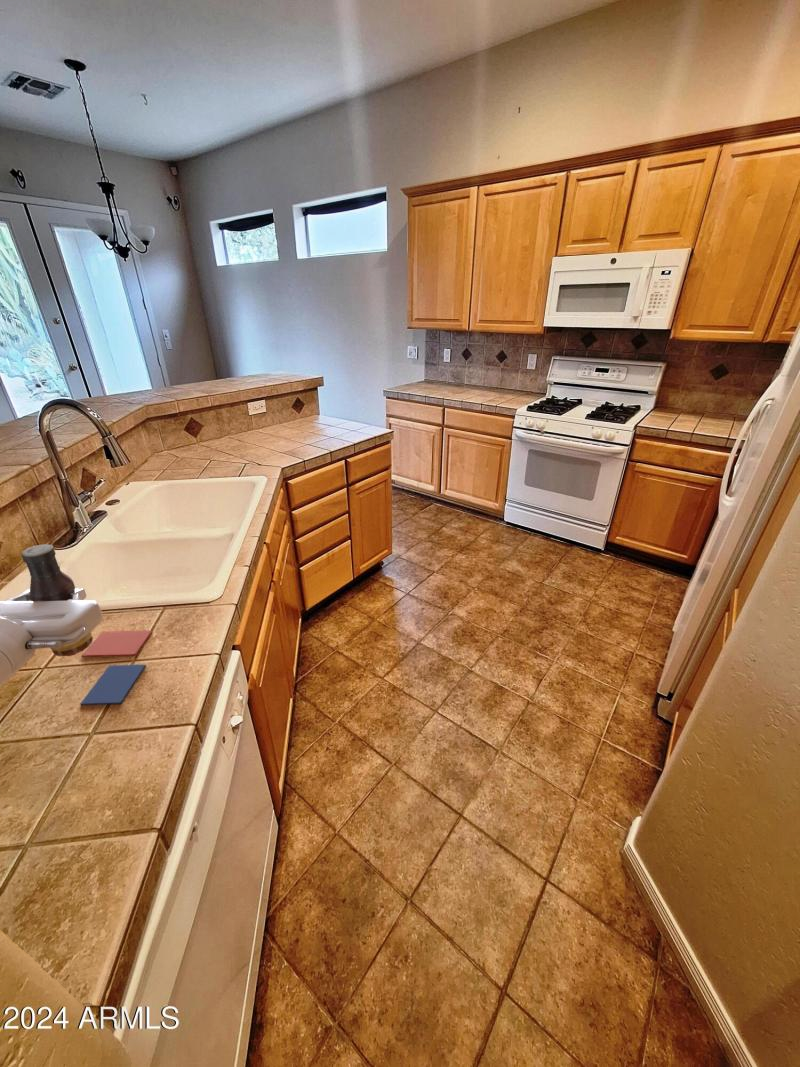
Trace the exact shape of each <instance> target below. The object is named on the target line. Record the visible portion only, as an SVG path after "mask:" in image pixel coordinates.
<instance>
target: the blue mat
mask: <svg viewBox="0 0 800 1067" xmlns="http://www.w3.org/2000/svg"><path fill="white" fill-rule="evenodd" d="M146 667H147V664H116V665H115V664H114V665H108V667H107V668H106V669H105V671H104V672H103V673H102V675H100V677H98V679H97V681H96V682H95V684H94V685H93V686H92V687H91V689H90V690H89V692H87V694H86V696H85V697H83V699H82V701H81V702H80V706H104V705H122V704H123V702H124V701H125V699H126V697H127V696H128V695H129V693H130V692H131V690H132V688H133V687H134V685H135V684H136V682H137V681H138V680H139V678H140V676H141V675H142V673H143V672H144V670H145V668H146Z"/></svg>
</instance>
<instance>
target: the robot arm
mask: <svg viewBox="0 0 800 1067" xmlns="http://www.w3.org/2000/svg"><path fill="white" fill-rule="evenodd" d="M29 596H30V589H26V590H25V591H24V592H22V593H21V594H19V595H15V596H13V597H10V598H7V599H5V600H4V601H0V688H1V687H3V686H4V685H5V684H7V683H8V681H10V680H11V679H12V678H13V677H14V676H15V675H16V674H17V673H18V672H19V671H20V670H21V669H23V667H25V665H26V664H27V663H28V662H29V661H30V660H31V659H32V658H33V657H34V656H35V653H36V649H38V650H39V649H50V648H61V647H65V646H69V645H72V644H75V643H76V642H78V641H80V640H81V639H82V638H84V637H85V636H86V635H87V634H88V633H90V632H93V630H94V629H95V628H97V626H99V625H100V624H101V622H102V621H103V620H104V616H103V612H102V609H101V606H100V605H99V603H98V601H97V600H94V599H88V600H87V599H86V598H87V592H86V590H85V589H84V588H76V589H74V590H73V591H72V592H70V593H69V597H70V598H71V599H69V600H67V601H30V599H29Z"/></svg>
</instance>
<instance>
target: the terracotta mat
mask: <svg viewBox="0 0 800 1067" xmlns="http://www.w3.org/2000/svg"><path fill="white" fill-rule="evenodd" d="M152 633H153V630H152V629H149V630H148V629H147V630H110V631H109V630H108V631H107V630H106V631H104V630H103V631H101V632H100V633H99V634H98V636H97V637H96V638H95V639H93V641H92V643H91V644H90V645H89V647H87V648H86V649H85V650H84V652H83V653H82V654H81V658H98V657H99V658H100V657H103V658H104V657H105V658H106V657H136V656H137V654H138V653H139V652H140V650H141V649H142V647H143V646H144V644H145V643H146V641H147V640H148V639H149V638H150V635H151V634H152Z"/></svg>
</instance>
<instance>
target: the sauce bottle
mask: <svg viewBox="0 0 800 1067" xmlns="http://www.w3.org/2000/svg"><path fill="white" fill-rule="evenodd" d="M56 555H57V554H56V550H55V547H54V546H53V545H50V544H39V545H33V546H30V547H28V548H26V549H24V550H23V551H22V552H21V557H22V562H24V563H25V564H26V567H27V569H28V571H29V576H30V584H29V585H30V586H29V587H30V588H29V590H30V596H29V599H30V601H67V600H69V599H71V598H70V597H69V593H70V592H72V591H73V590H74V589H77V588H76V586H75V582H74V580H73V579H72V577H71V576H69V574H66V573H65V572H64V571H62V570H61V568H60V565H59V563H58V560H57V558H56ZM92 632H93V631H91V632H90V633H88V634H87V635H86V636H85V637H84V638H82V639H81V640H80V641H78V642H76V643H75V644H72V645H69V646H65V647H61V648H49V649H50V650H51V651H52V653H53V655H55V656H57V657H72V656H74V655H76V654H79V653H81V652H83V651H85V650H87V649H88V647H89V646H90V645H91V644H92V643H93V642H94V637H93V635H92Z"/></svg>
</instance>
